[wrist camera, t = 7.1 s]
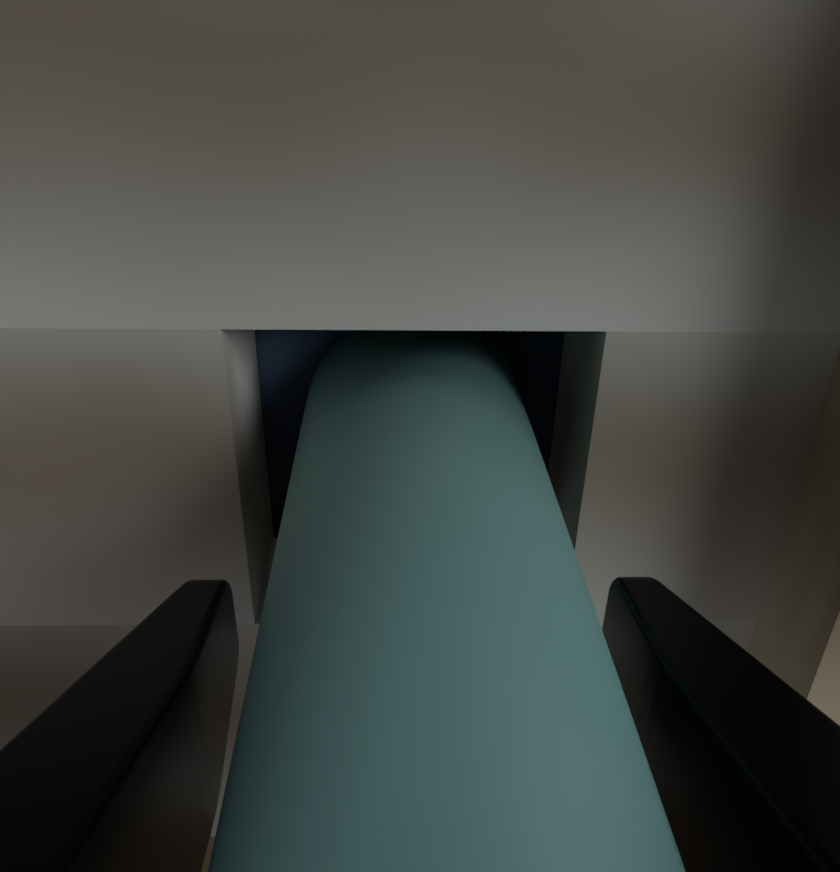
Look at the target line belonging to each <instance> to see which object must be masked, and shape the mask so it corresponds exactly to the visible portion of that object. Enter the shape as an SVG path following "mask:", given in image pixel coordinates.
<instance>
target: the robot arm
mask: <svg viewBox="0 0 840 872" xmlns="http://www.w3.org/2000/svg"><path fill="white" fill-rule="evenodd" d="M602 631H603V634H604V637H605V640H606V643H607V645H608V648H609V651H610V654H611V657H612V660H613V663H614V666H615V668H616V671H617V674H618V677H619V680H620V683H621V686H622V689H623V692H624V694H625V697H626V700H627V703H628V706H629V709H630V712H631V715H632V718H633V720H634V723H635V726H636V729H637V732H638V735H639V738H640V741H641V743H642V746H643V749H644V752H645V755H646V758H647V761H648V764H649V767H650V769H651V772H652V775H653V778H654V781H655V784H656V787H657V790H658V793H659V795H660V798H661V801H662V804H663V807H664V810H665V813H666V816H667V818H668V821H669V824H670V827H671V830H672V833H673V836H674V839H675V842H676V844H677V847H678V850H679V853H680V856H681V859H682V862H683V865H684V867H685V870H686V872H840V725H838V724H837V723H836V722H835V721H833V720H832V719H831V718H830V717H828V716H827V715H826V714H825V713H823V712H822V711H821V710H820V709H818V708H817V707H816V706H815V705H813V704H812V703H811V702H810V701H808V700H807V699H806V698H805V697H803V696H802V695H801V694H800V693H798V692H797V691H796V690H795V689H793V688H792V687H791V686H790V685H788V684H787V683H786V682H785V681H783V680H782V679H781V678H780V677H778V676H777V675H776V674H775V673H773V672H772V671H771V670H770V669H768V668H767V667H766V666H765V665H763V664H762V663H761V662H760V661H758V660H757V659H756V658H755V657H753V656H752V655H751V654H750V653H748V652H747V651H746V650H745V649H743V648H742V647H741V646H740V645H738V644H737V643H736V642H735V641H733V640H732V639H731V638H730V637H728V636H727V635H726V634H725V633H723V632H722V631H721V630H720V629H718V628H717V627H716V626H715V625H713V624H712V623H711V622H710V621H708V620H707V619H706V618H705V617H703V616H702V615H701V614H700V613H698V612H697V611H696V610H695V609H693V608H692V607H691V606H690V605H688V604H687V603H686V602H685V601H683V600H682V599H681V598H680V597H678V596H677V595H676V594H675V593H673V592H672V591H671V590H670V589H668V588H667V587H666V586H665V585H663V584H662V583H661V582H659V581H658V580H656V579H655V578H652V577H617V578H616V579H614V580H613V581H612V583H611V585H610V588H609V593H608V598H607V604H606V610H605V615H604V621H603V627H602ZM238 656H239V642H238V633H237V625H236V618H235V610H234V602H233V595H232V589H231V586H230V584H229V583H228V582H227V581H225V580H222V579H216V580H189V581H187V582H185V583H184V584H182V585H181V586H180V587H179V588H178V589H177V590H176V591H175V592H173V593H172V594H171V595H170V596H169V597H168V598H167V599H166V600H165V601H163V602H162V603H161V604H160V605H159V606H158V607H157V608H156V609H155V610H154V611H152V612H151V613H150V614H149V615H148V616H147V617H146V618H145V619H144V620H143V621H141V622H140V623H139V624H138V625H137V626H136V627H135V628H134V629H133V630H131V631H130V632H129V633H128V634H127V635H126V636H125V637H124V638H123V639H122V640H120V641H119V642H118V643H117V644H116V645H115V646H114V647H113V648H112V649H111V650H109V651H108V652H107V653H106V654H105V655H104V656H103V657H102V658H101V659H99V660H98V661H97V662H96V663H95V664H94V665H93V666H92V667H91V668H90V669H88V670H87V671H86V672H85V673H84V674H83V675H82V676H81V677H80V678H78V679H77V680H76V681H75V682H74V683H73V684H72V685H71V686H70V687H69V688H67V689H66V690H65V691H64V692H63V693H62V694H61V695H60V696H59V697H58V698H56V699H55V700H54V701H53V702H52V703H51V704H50V705H49V706H48V707H46V708H45V709H44V710H43V711H42V712H41V713H40V714H39V715H38V716H37V717H35V718H34V719H33V720H32V721H31V722H30V723H29V724H28V725H27V726H25V727H24V728H23V729H22V730H21V731H20V732H19V733H18V734H17V735H16V736H14V737H13V738H12V739H11V740H10V741H9V742H8V743H7V744H6V745H5V746H3V747H2V748H1V749H0V872H201V870H202V866H203V862H204V858H205V855H206V851H207V847H208V843H209V839H210V835H211V831H212V827H213V823H214V818H215V814H216V810H217V804H218V798H219V792H220V786H221V780H222V773H223V766H224V759H225V752H226V745H227V738H228V730H229V723H230V716H231V709H232V702H233V695H234V688H235V681H236V674H237V667H238Z"/></svg>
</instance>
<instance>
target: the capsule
mask: <svg viewBox="0 0 840 872" xmlns="http://www.w3.org/2000/svg"><path fill="white" fill-rule="evenodd" d="M208 872H686V870H685V867H684V865H683V862H682V859H681V856H680V853H679V850H678V847H677V844H676V842H675V839H674V836H673V833H672V830H671V827H670V824H669V821H668V818H667V816H666V813H665V810H664V807H663V804H662V801H661V798H660V795H659V793H658V790H657V787H656V784H655V781H654V778H653V775H652V772H651V769H650V767H649V764H648V761H647V758H646V755H645V752H644V749H643V746H642V743H641V741H640V738H639V735H638V732H637V729H636V726H635V723H634V720H633V718H632V715H631V712H630V709H629V706H628V703H627V700H626V697H625V694H624V692H623V689H622V686H621V683H620V680H619V677H618V674H617V671H616V668H615V666H614V663H613V660H612V657H611V654H610V651H609V648H608V645H607V643H606V640H605V637H604V634H603V631H602V628H601V625H600V622H599V619H598V617H597V614H596V611H595V608H594V605H593V602H592V599H591V596H590V594H589V591H588V588H587V585H586V582H585V579H584V576H583V573H582V570H581V568H580V565H579V562H578V559H577V556H576V553H575V550H574V547H573V544H572V542H571V539H570V536H569V533H568V530H567V527H566V524H565V521H564V519H563V516H562V513H561V510H560V507H559V504H558V501H557V498H556V495H555V493H554V490H553V487H552V484H551V481H550V478H549V475H548V472H547V469H546V467H545V464H544V461H543V458H542V455H541V452H540V449H539V446H538V444H537V441H536V438H535V435H534V432H533V429H532V426H531V423H530V420H529V418H528V415H527V412H526V409H525V406H524V403H523V400H522V397H521V394H520V392H519V389H518V386H517V383H516V380H515V377H514V375H513V372H512V370H511V368H510V366H509V364H508V362H507V361H506V359H505V357H504V356H503V354H502V353H501V352H500V351H499V349H498V348H497V347H496V346H495V345H494V344H493V343H492V342H491V341H490V340H489V339H488V338H487V337H486V336H484V335H483V334H482V333H481V332H479V331H432V330H351V331H349V332H347V333H346V334H345V335H344V336H342V337H341V338H340V339H339V340H338V341H336V342H335V343H334V344H333V346H332V347H331V348H330V349H329V350H328V351H327V352H326V354H325V355H324V357H323V358H322V360H321V361H320V362H319V364H318V366H317V368H316V370H315V372H314V374H313V377H312V380H311V383H310V386H309V391H308V395H307V400H306V405H305V410H304V415H303V419H302V424H301V429H300V434H299V438H298V443H297V448H296V453H295V458H294V462H293V467H292V472H291V477H290V481H289V486H288V491H287V496H286V501H285V505H284V510H283V515H282V520H281V524H280V529H279V534H278V539H277V544H276V548H275V553H274V558H273V563H272V567H271V572H270V577H269V582H268V587H267V591H266V596H265V601H264V606H263V610H262V615H261V620H260V625H259V630H258V634H257V639H256V644H255V649H254V653H253V658H252V663H251V668H250V673H249V677H248V682H247V687H246V692H245V696H244V701H243V706H242V711H241V716H240V720H239V725H238V730H237V735H236V739H235V744H234V749H233V754H232V759H231V763H230V768H229V773H228V778H227V783H226V787H225V792H224V797H223V802H222V806H221V811H220V816H219V821H218V826H217V830H216V835H215V840H214V845H213V849H212V854H211V859H210V864H209V869H208Z"/></svg>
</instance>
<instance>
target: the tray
mask: <svg viewBox="0 0 840 872" xmlns="http://www.w3.org/2000/svg"><path fill="white" fill-rule="evenodd" d="M255 330H432V331H565V332H564V341H563V349H562V358H561V366H560V375H559V383H558V392H557V400H556V409H555V418H554V426H553V435H552V443H551V452H550V460H549V469H548V475H549V478H550V481H551V484H552V487H553V490H554V493H555V495H556V498H557V501H558V504H559V507H560V510H561V513H562V516H563V519H564V521H565V524H566V527H567V530H568V533H569V536H570V539H571V542H572V544H573V547H574V550H575V553H576V556H577V559H578V562H579V565H580V568H581V570H582V573H583V576H584V579H585V582H586V585H587V588H588V591H589V594H590V596H591V599H592V602H593V605H594V608H595V611H596V614H597V617H598V619H599V622H600V625H601V628H602V627H603V621H604V615H605V610H606V604H607V598H608V593H609V588H610V585H611V583H612V581H613V580H614V579H616V578H617V577H652V578H655V579H656V580H658V581H659V582H661V583H662V584H663V585H665V586H666V587H667V588H668V589H670V590H671V591H672V592H673V593H675V594H676V595H677V596H678V597H680V598H681V599H682V600H683V601H685V602H686V603H687V604H688V605H690V606H691V607H692V608H693V609H695V610H696V611H697V612H698V613H700V614H701V615H702V616H703V617H705V618H706V619H707V620H708V621H710V622H711V623H712V624H713V625H715V626H716V627H717V628H718V629H720V630H721V631H722V632H723V633H725V634H726V635H727V636H728V637H730V638H731V639H732V640H733V641H735V642H736V643H737V644H738V645H740V646H741V647H742V648H743V649H745V650H746V651H747V652H748V653H750V654H751V655H752V656H753V657H755V658H756V659H757V660H758V661H760V662H761V663H762V664H763V665H765V666H766V667H767V668H768V669H770V670H771V671H772V672H773V673H775V674H776V675H777V676H778V677H780V678H781V679H782V680H783V681H785V682H786V683H787V684H788V685H790V686H791V687H792V688H793V689H795V690H796V691H797V692H798V693H800V694H801V695H802V696H803V697H805V698H806V699H807V700H808V701H810V702H811V703H812V704H813V705H815V706H816V707H817V708H818V709H820V710H821V711H822V712H823V713H825V714H826V715H827V716H828V717H830V718H831V719H832V720H833V721H835V722H836V723H837V724H838V725H840V0H0V749H1V748H2V747H3V746H5V745H6V744H7V743H8V742H9V741H10V740H11V739H12V738H13V737H14V736H16V735H17V734H18V733H19V732H20V731H21V730H22V729H23V728H24V727H25V726H27V725H28V724H29V723H30V722H31V721H32V720H33V719H34V718H35V717H37V716H38V715H39V714H40V713H41V712H42V711H43V710H44V709H45V708H46V707H48V706H49V705H50V704H51V703H52V702H53V701H54V700H55V699H56V698H58V697H59V696H60V695H61V694H62V693H63V692H64V691H65V690H66V689H67V688H69V687H70V686H71V685H72V684H73V683H74V682H75V681H76V680H77V679H78V678H80V677H81V676H82V675H83V674H84V673H85V672H86V671H87V670H88V669H90V668H91V667H92V666H93V665H94V664H95V663H96V662H97V661H98V660H99V659H101V658H102V657H103V656H104V655H105V654H106V653H107V652H108V651H109V650H111V649H112V648H113V647H114V646H115V645H116V644H117V643H118V642H119V641H120V640H122V639H123V638H124V637H125V636H126V635H127V634H128V633H129V632H130V631H131V630H133V629H134V628H135V627H136V626H137V625H138V624H139V623H140V622H141V621H143V620H144V619H145V618H146V617H147V616H148V615H149V614H150V613H151V612H152V611H154V610H155V609H156V608H157V607H158V606H159V605H160V604H161V603H162V602H163V601H165V600H166V599H167V598H168V597H169V596H170V595H171V594H172V593H173V592H175V591H176V590H177V589H178V588H179V587H180V586H181V585H182V584H184V583H185V582H187V581H189V580H216V579H222V580H225V581H227V582H228V583H229V584H230V586H231V589H232V595H233V602H234V610H235V618H236V625H237V633H238V642H239V656H238V667H237V674H236V681H235V688H234V695H233V702H232V709H231V716H230V723H229V730H228V738H227V745H226V752H225V759H224V766H223V773H222V780H221V786H220V792H219V798H218V804H217V810H216V814H215V818H214V823H213V827H212V831H211V835H210V839H209V843H208V847H207V851H206V855H205V858H204V862H203V866H202V870H201V872H208V869H209V864H210V859H211V854H212V849H213V845H214V840H215V835H216V830H217V826H218V821H219V816H220V811H221V806H222V802H223V797H224V792H225V787H226V783H227V778H228V773H229V768H230V763H231V759H232V754H233V749H234V744H235V739H236V735H237V730H238V725H239V720H240V716H241V711H242V706H243V701H244V696H245V692H246V687H247V682H248V677H249V673H250V668H251V663H252V658H253V653H254V649H255V644H256V639H257V634H258V630H259V625H260V620H261V615H262V610H263V606H264V601H265V596H266V591H267V587H268V582H269V577H270V572H271V567H272V563H273V558H274V553H275V548H276V544H277V539H278V538H274V535H273V524H272V514H271V503H270V492H269V481H268V470H267V459H266V449H265V438H264V427H263V416H262V405H261V394H260V383H259V373H258V362H257V351H256V340H255Z"/></svg>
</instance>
